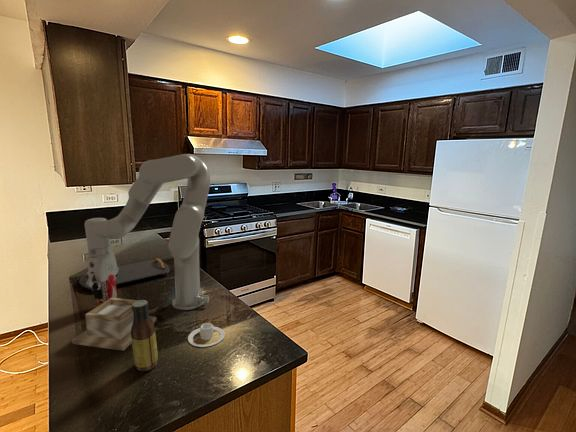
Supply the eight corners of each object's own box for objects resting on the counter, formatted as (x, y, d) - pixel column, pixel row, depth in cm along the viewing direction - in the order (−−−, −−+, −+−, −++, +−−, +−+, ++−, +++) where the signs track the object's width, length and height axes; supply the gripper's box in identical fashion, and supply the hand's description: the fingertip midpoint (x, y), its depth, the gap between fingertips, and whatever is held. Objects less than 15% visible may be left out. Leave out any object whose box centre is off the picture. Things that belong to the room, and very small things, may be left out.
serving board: (85, 297, 133) (83, 283, 131) (76, 280, 150) (75, 267, 148) (175, 275, 158) (174, 263, 156) (159, 262, 175) (158, 252, 173)
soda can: (94, 307, 119) (89, 277, 117) (100, 298, 126) (95, 270, 123) (115, 304, 121) (110, 275, 118) (119, 296, 128) (115, 268, 125)
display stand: (156, 320, 115) (154, 297, 113) (123, 350, 97) (121, 324, 96) (112, 315, 118) (110, 293, 116) (72, 343, 100) (69, 318, 98)
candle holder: (195, 353, 97) (194, 340, 97) (182, 335, 107) (182, 323, 106) (230, 340, 104) (230, 328, 104) (216, 324, 114) (215, 313, 113)
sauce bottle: (151, 355, 95) (147, 294, 91) (162, 364, 91) (158, 301, 87) (129, 366, 90) (124, 302, 86) (140, 376, 86) (134, 310, 82)
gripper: (91, 258, 110) (98, 305, 114) (124, 244, 127) (129, 285, 130) (72, 257, 111) (79, 304, 115) (107, 243, 128) (113, 284, 132)
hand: (106, 293), depth 123 cm, fingers closed on soda can, 6 cm apart
